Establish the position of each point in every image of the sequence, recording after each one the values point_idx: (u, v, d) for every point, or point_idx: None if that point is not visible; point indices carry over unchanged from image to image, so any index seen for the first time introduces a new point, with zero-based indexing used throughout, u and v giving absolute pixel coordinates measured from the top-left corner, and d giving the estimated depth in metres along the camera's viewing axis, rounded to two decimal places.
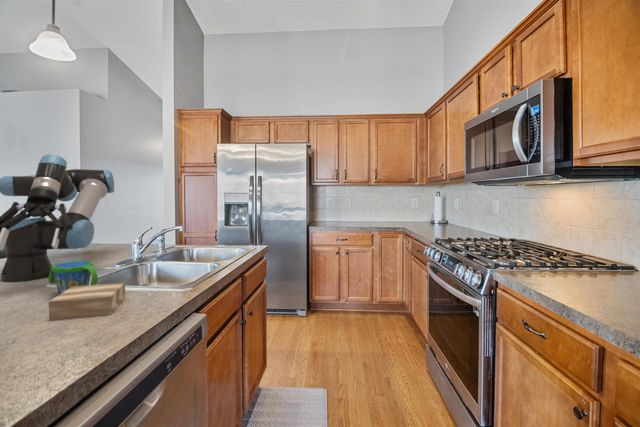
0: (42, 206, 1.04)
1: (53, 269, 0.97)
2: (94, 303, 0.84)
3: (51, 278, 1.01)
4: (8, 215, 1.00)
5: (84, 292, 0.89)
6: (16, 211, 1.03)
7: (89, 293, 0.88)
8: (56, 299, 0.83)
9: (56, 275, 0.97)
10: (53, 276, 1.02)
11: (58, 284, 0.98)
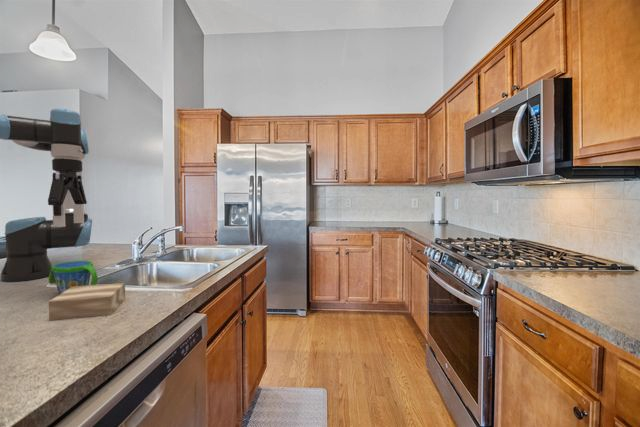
0: (77, 180, 1.01)
1: (53, 269, 0.97)
2: (94, 303, 0.84)
3: (51, 278, 1.01)
4: None
5: (84, 292, 0.89)
6: None
7: (89, 293, 0.88)
8: (56, 299, 0.83)
9: (56, 275, 0.97)
10: (53, 276, 1.02)
11: (58, 284, 0.98)
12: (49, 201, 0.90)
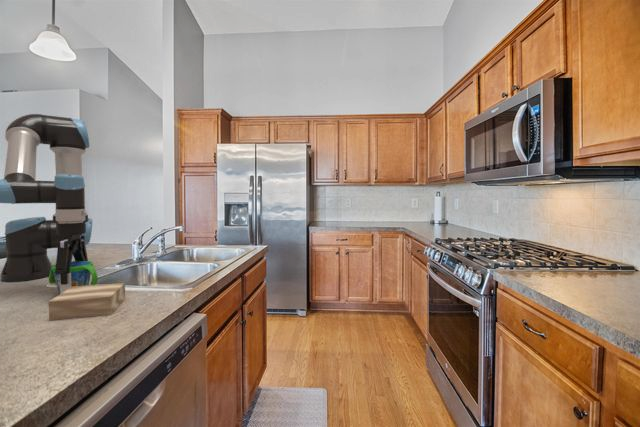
0: (80, 241, 1.03)
1: (53, 269, 0.97)
2: (94, 303, 0.84)
3: (51, 278, 1.01)
4: None
5: (84, 292, 0.89)
6: None
7: (89, 293, 0.88)
8: (56, 299, 0.83)
9: (56, 275, 0.97)
10: (53, 276, 1.02)
11: (58, 284, 0.98)
12: (56, 272, 0.93)
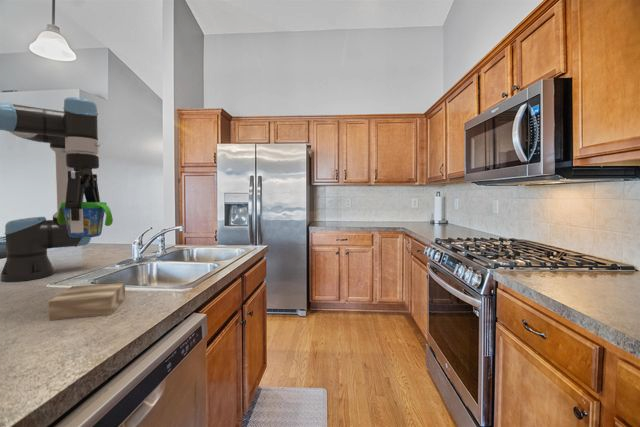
0: (93, 178, 0.91)
1: (63, 204, 0.85)
2: (94, 303, 0.84)
3: (60, 218, 0.90)
4: None
5: (84, 292, 0.89)
6: None
7: (89, 293, 0.88)
8: (56, 299, 0.83)
9: (66, 211, 0.85)
10: (62, 217, 0.90)
11: (68, 222, 0.86)
12: (67, 205, 0.81)
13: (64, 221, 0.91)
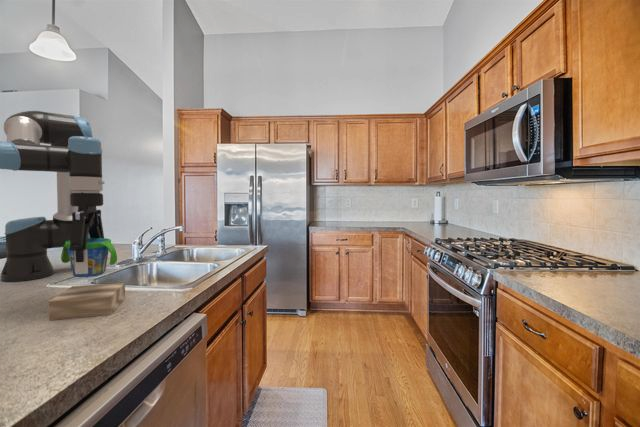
0: (97, 215, 0.90)
1: (67, 245, 0.84)
2: (94, 303, 0.84)
3: (64, 256, 0.89)
4: None
5: (84, 292, 0.89)
6: None
7: (89, 293, 0.88)
8: (56, 299, 0.83)
9: (70, 252, 0.84)
10: (66, 254, 0.90)
11: (72, 262, 0.85)
12: (71, 247, 0.80)
13: (68, 259, 0.90)
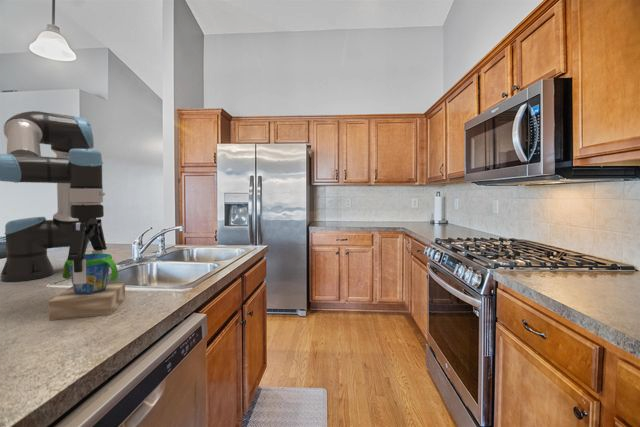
0: (97, 226, 0.90)
1: (68, 262, 0.85)
2: (94, 303, 0.84)
3: (65, 272, 0.90)
4: None
5: None
6: None
7: None
8: (56, 299, 0.83)
9: (72, 269, 0.85)
10: (67, 270, 0.90)
11: None
12: (69, 257, 0.79)
13: (69, 274, 0.91)
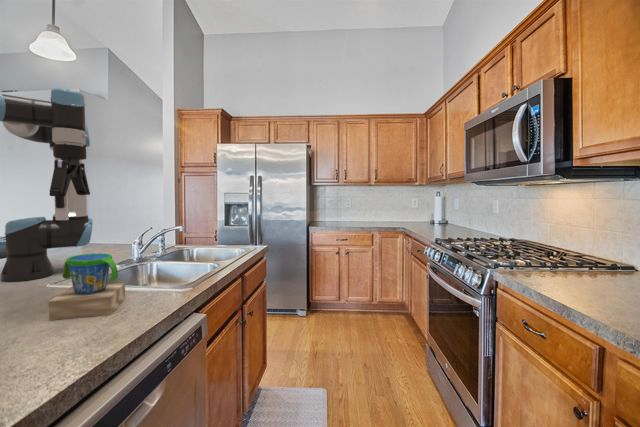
0: (80, 169, 0.92)
1: (68, 262, 0.85)
2: (94, 303, 0.84)
3: (65, 272, 0.89)
4: None
5: None
6: None
7: None
8: (56, 299, 0.83)
9: (72, 269, 0.85)
10: (67, 270, 0.90)
11: (74, 279, 0.86)
12: (51, 192, 0.81)
13: (69, 274, 0.91)
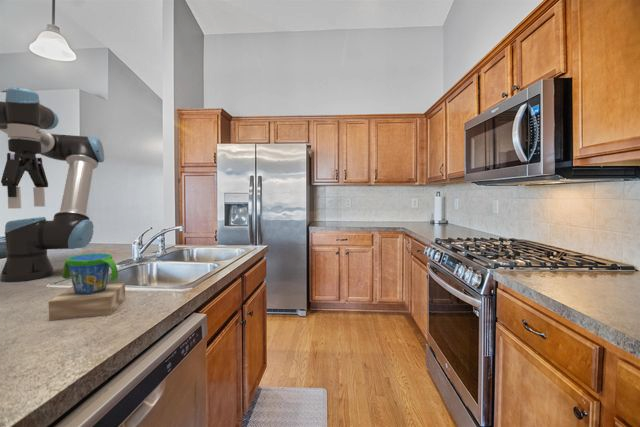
0: (35, 162, 0.99)
1: (68, 262, 0.85)
2: (94, 303, 0.84)
3: (65, 272, 0.89)
4: None
5: None
6: None
7: None
8: (56, 299, 0.83)
9: (72, 269, 0.85)
10: (67, 270, 0.90)
11: (74, 279, 0.86)
12: (2, 182, 0.88)
13: (69, 274, 0.91)
